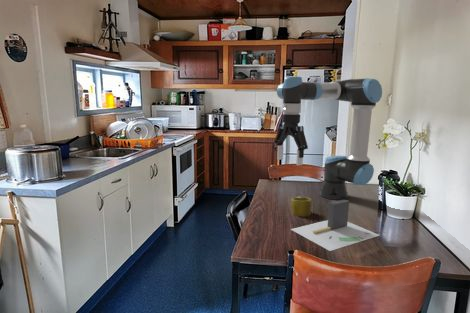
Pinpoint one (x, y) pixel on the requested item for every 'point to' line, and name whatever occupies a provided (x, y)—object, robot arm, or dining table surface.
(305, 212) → the mug
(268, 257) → the dining table surface
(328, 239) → the board
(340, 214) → the gray bar
